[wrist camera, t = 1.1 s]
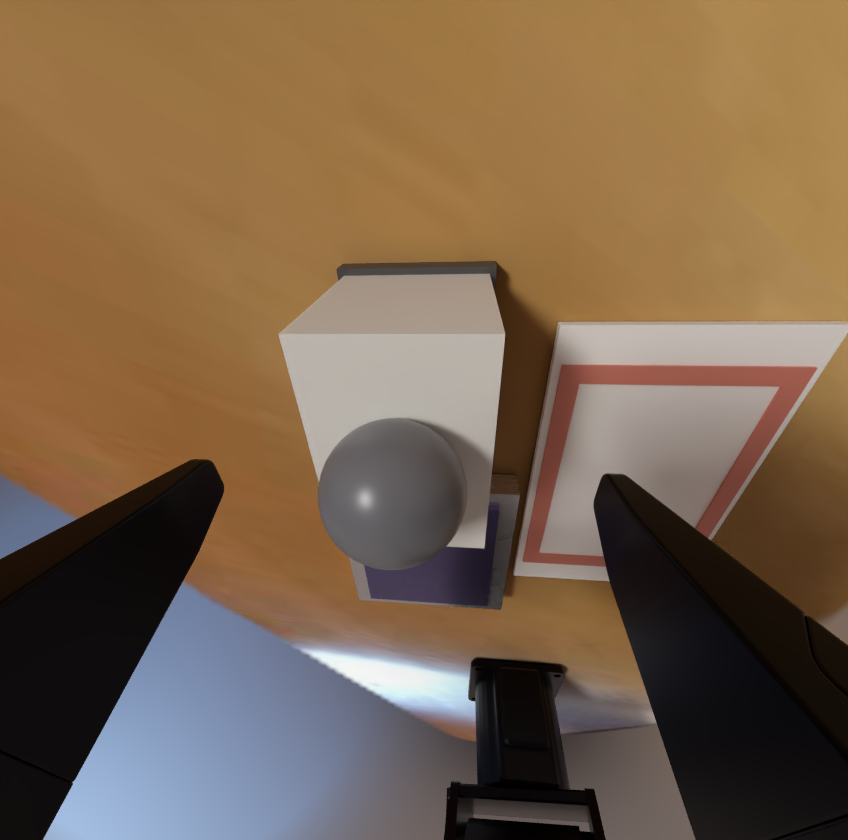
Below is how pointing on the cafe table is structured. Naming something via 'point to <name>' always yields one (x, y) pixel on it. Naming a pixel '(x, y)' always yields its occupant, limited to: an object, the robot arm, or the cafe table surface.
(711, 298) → the cafe table surface
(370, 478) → the stamp
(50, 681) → the robot arm
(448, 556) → the ink pad
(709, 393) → the sheet
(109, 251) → the cafe table surface
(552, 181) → the cafe table surface
